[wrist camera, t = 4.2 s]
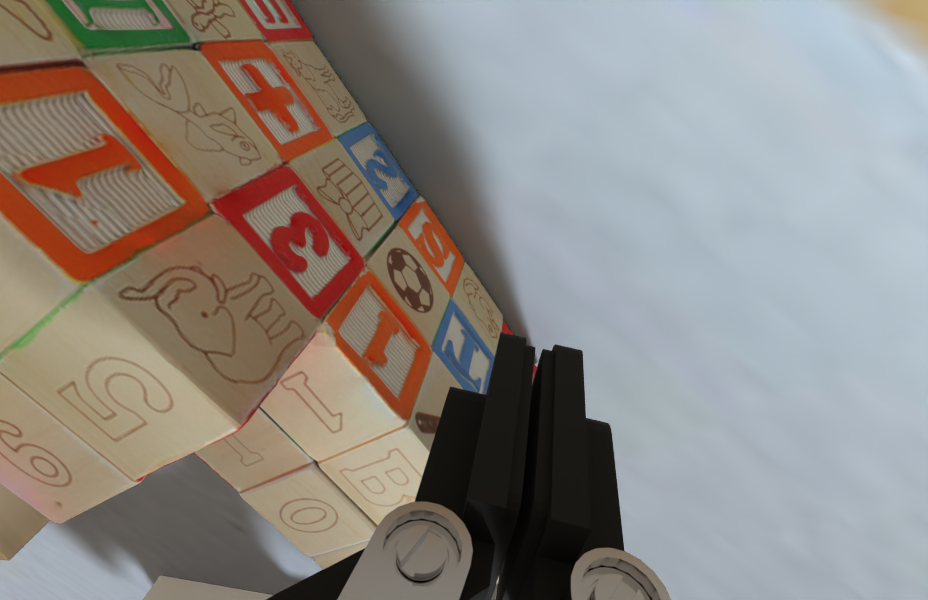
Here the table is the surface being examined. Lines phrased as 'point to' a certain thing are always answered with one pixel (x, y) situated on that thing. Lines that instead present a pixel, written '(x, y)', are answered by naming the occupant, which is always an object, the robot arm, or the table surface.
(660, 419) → the table surface
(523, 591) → the robot arm
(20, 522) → the beech block
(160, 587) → the white plastic bracket
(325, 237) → the stack of blocks
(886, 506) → the table surface
